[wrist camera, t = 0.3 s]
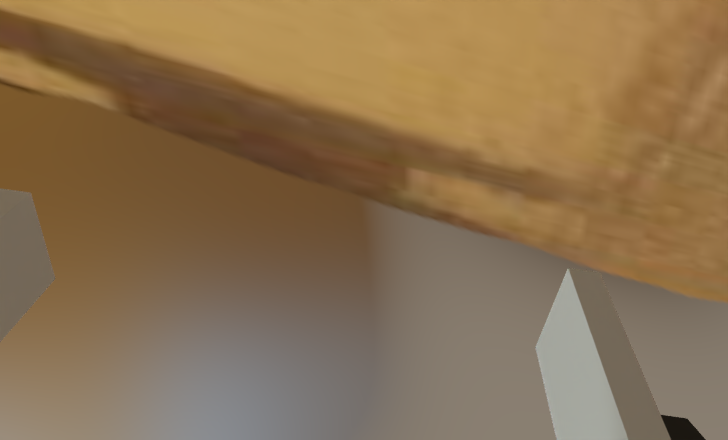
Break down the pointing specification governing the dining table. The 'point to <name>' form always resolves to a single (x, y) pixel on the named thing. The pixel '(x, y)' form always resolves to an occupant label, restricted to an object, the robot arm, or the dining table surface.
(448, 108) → the dining table surface
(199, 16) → the dining table surface
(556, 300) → the robot arm
